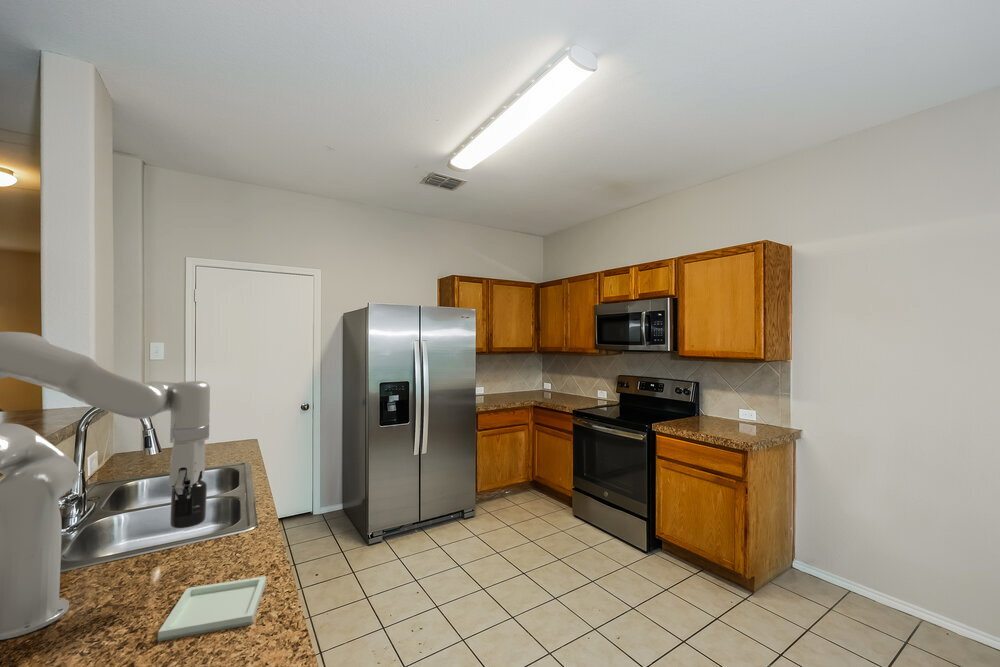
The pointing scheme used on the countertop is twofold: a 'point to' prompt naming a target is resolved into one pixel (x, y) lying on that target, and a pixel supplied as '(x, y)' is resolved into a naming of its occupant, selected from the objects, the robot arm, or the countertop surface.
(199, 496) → the supplement bottle
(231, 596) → the sage tray
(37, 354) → the robot arm
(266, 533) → the countertop surface
